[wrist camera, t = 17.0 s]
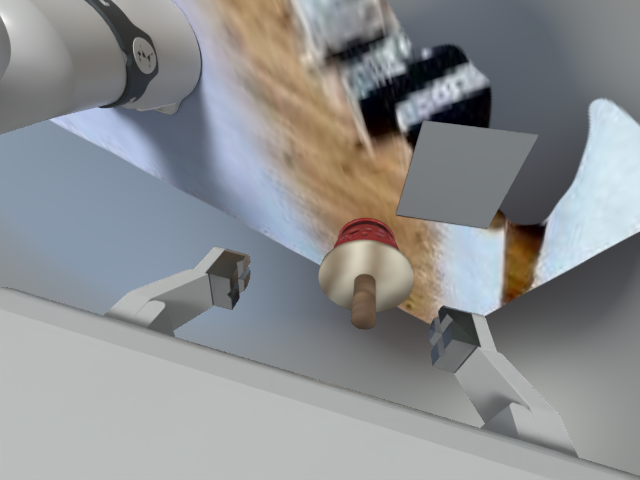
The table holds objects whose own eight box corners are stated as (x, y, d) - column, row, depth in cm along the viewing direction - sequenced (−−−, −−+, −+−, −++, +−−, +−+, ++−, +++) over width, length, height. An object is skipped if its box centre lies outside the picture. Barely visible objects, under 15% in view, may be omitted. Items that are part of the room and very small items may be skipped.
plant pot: (407, 251, 58) (413, 293, 48) (349, 266, 63) (345, 307, 53) (386, 200, 52) (389, 236, 42) (324, 221, 56) (314, 258, 47)
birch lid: (315, 298, 53) (305, 341, 45) (325, 231, 43) (315, 272, 36) (397, 314, 52) (401, 361, 44) (427, 250, 42) (438, 295, 35)
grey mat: (395, 213, 53) (396, 214, 52) (423, 120, 43) (423, 121, 42) (486, 227, 51) (487, 228, 51) (537, 134, 41) (538, 135, 41)
